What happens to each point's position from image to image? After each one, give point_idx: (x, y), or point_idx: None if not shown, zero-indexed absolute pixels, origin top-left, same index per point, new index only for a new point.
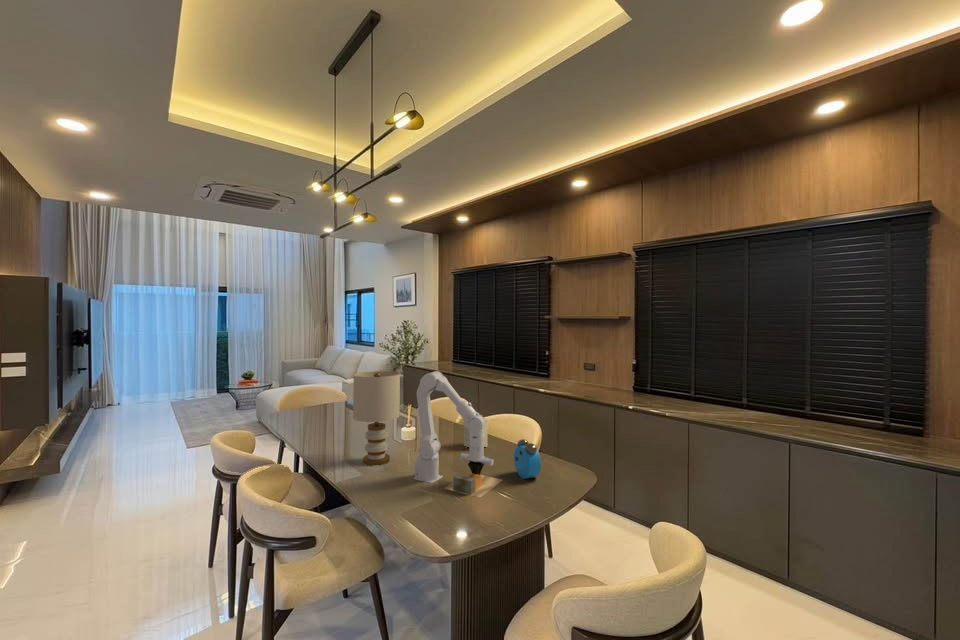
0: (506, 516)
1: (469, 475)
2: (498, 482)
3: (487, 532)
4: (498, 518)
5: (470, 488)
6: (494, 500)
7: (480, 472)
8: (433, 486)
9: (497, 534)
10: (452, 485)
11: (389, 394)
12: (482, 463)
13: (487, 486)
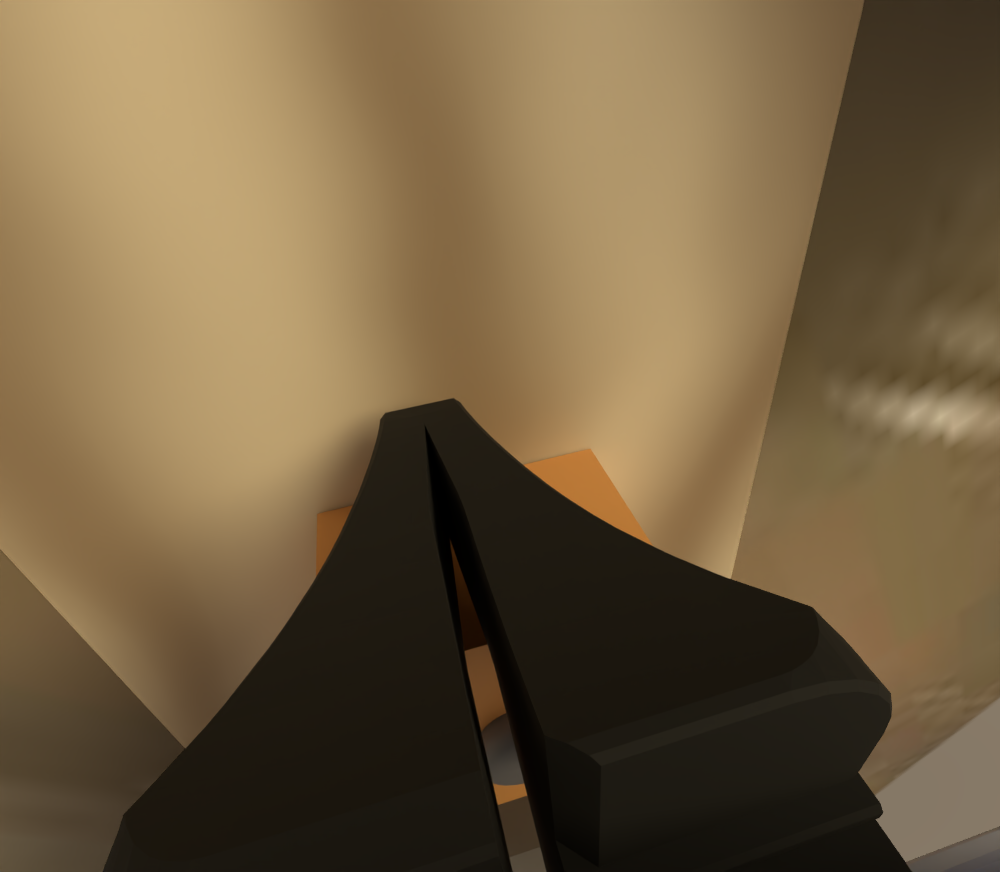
0: (977, 633)
1: (498, 780)
2: (823, 96)
3: (881, 759)
4: (924, 675)
5: None
6: (856, 558)
7: (529, 479)
8: (33, 825)
9: (932, 738)
10: (217, 709)
11: None
12: (844, 835)
13: (681, 403)
